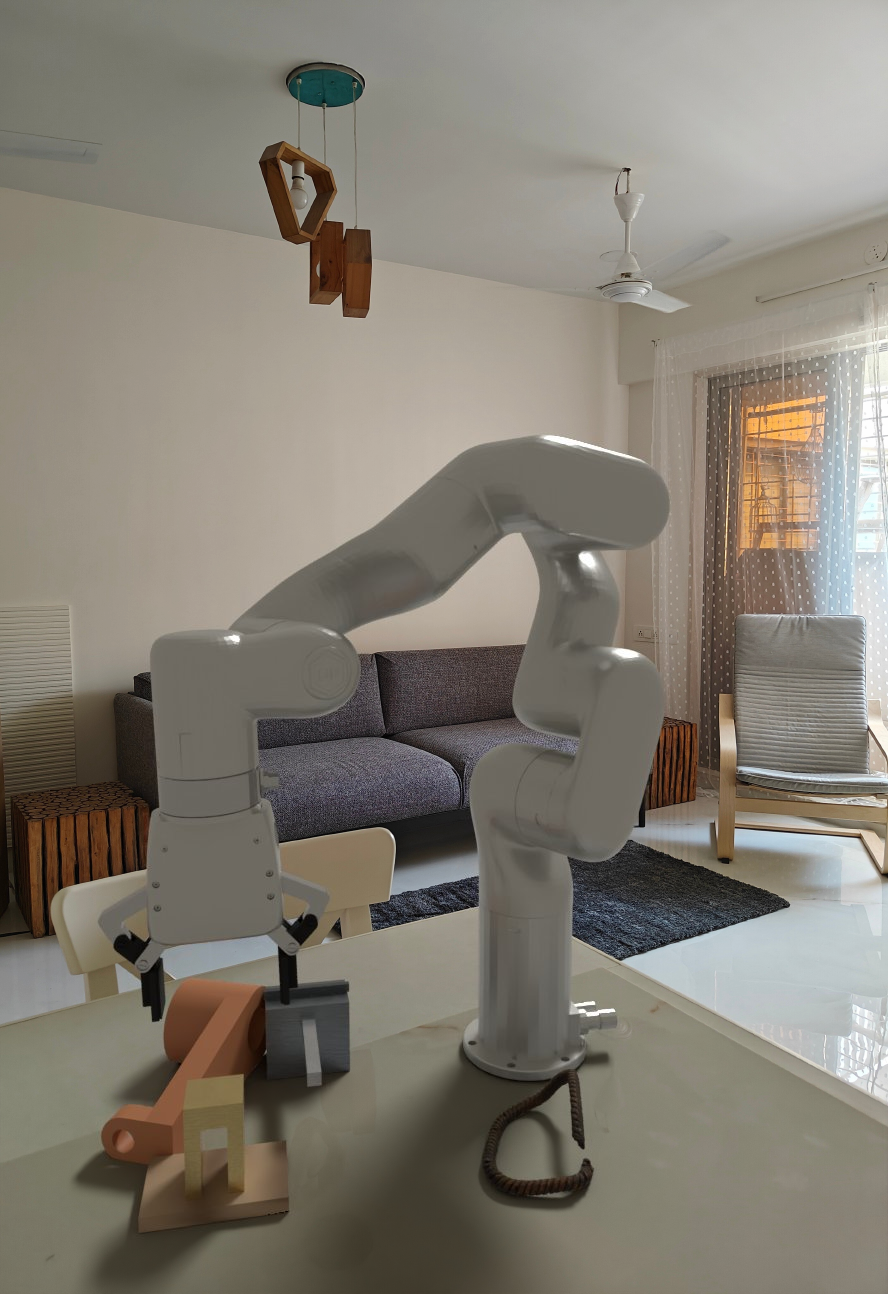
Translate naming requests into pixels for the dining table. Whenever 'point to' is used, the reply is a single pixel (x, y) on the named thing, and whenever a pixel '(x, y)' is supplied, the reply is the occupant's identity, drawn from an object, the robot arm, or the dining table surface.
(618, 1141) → the dining table surface
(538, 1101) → the brown twisted loop
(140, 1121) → the crank
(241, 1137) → the yellow arch block
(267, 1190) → the board
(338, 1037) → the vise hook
